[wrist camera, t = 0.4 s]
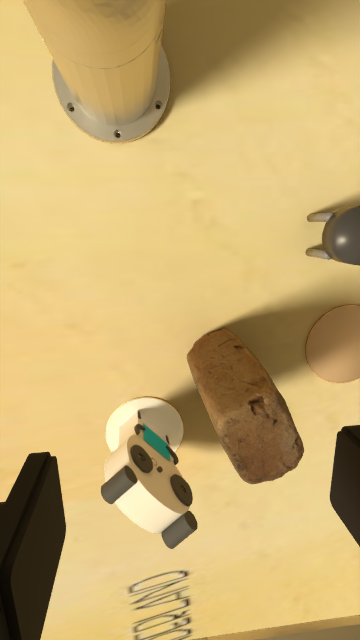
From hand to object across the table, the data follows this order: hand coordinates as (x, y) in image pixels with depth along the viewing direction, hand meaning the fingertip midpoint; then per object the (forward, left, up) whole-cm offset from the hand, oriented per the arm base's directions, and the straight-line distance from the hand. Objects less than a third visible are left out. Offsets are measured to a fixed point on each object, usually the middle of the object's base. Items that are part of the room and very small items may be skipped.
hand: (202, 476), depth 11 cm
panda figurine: (+21, -3, -35) cm, 41 cm away
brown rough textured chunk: (+11, +8, -35) cm, 38 cm away
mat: (+10, +27, -35) cm, 45 cm away
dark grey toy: (-6, +23, -35) cm, 42 cm away
